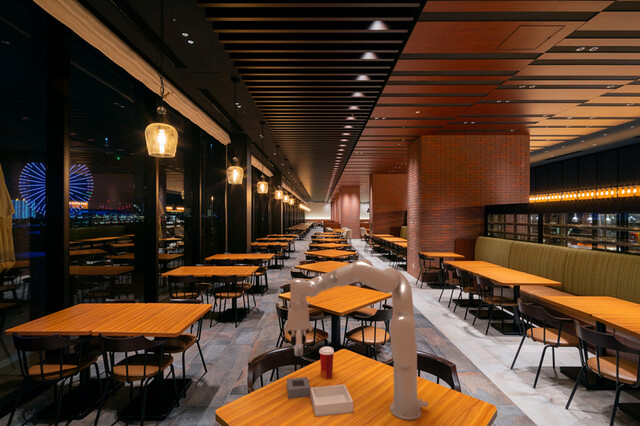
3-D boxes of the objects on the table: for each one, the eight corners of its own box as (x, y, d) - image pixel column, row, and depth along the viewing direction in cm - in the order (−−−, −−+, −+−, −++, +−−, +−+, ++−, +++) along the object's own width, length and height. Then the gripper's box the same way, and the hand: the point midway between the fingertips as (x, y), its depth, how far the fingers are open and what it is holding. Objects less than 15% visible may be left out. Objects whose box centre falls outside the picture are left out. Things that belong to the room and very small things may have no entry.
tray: (344, 394, 145) (344, 384, 145) (353, 412, 131) (353, 401, 131) (310, 397, 142) (310, 387, 142) (315, 416, 128) (315, 405, 128)
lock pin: (302, 352, 150) (302, 326, 150) (303, 355, 146) (303, 329, 146) (294, 352, 149) (294, 327, 150) (294, 356, 145) (294, 330, 146)
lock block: (307, 385, 153) (307, 377, 153) (310, 396, 143) (310, 387, 143) (286, 387, 151) (286, 378, 151) (288, 398, 141) (288, 389, 141)
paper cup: (334, 373, 165) (334, 346, 166) (333, 380, 157) (333, 352, 158) (319, 372, 166) (319, 345, 166) (318, 379, 158) (318, 351, 159)
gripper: (314, 302, 153) (314, 340, 153) (280, 304, 151) (280, 342, 150) (317, 306, 146) (317, 346, 145) (281, 308, 143) (281, 348, 143)
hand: (298, 343), depth 148 cm, fingers closed on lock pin, 4 cm apart
